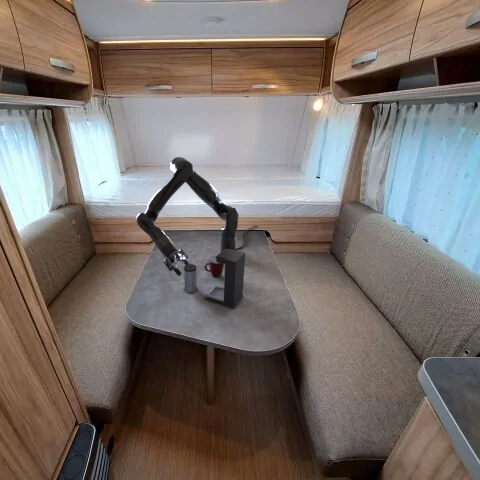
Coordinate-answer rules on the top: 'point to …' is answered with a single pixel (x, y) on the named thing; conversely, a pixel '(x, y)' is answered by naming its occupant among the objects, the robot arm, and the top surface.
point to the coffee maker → (229, 278)
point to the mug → (214, 267)
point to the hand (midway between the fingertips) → (185, 271)
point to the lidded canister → (190, 278)
